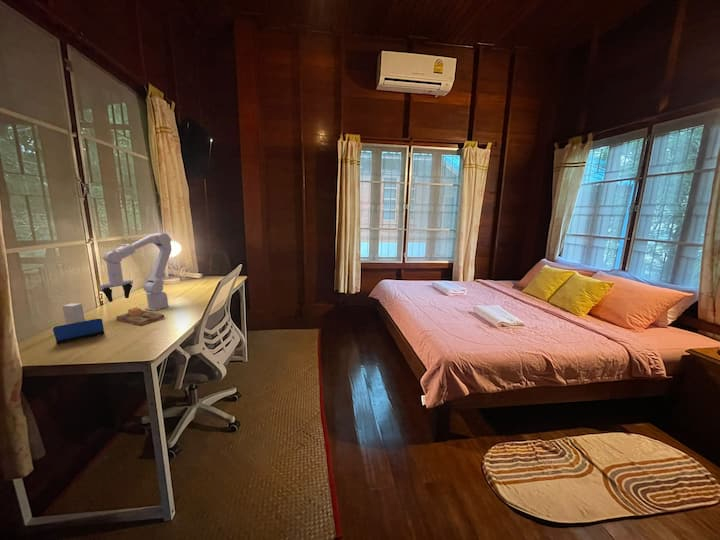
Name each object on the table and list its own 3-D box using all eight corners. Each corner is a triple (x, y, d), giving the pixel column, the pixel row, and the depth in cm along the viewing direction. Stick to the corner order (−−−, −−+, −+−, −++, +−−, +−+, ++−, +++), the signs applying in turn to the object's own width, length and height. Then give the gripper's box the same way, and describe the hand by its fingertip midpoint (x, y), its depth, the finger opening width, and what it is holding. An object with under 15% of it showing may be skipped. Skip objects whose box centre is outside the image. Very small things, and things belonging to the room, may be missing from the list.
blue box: (103, 329, 145) (100, 311, 143) (105, 337, 135) (102, 317, 134) (57, 338, 134) (53, 318, 133) (56, 348, 125) (52, 326, 123)
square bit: (137, 316, 163) (136, 307, 162) (142, 317, 161) (140, 308, 160) (129, 318, 159) (127, 309, 158) (133, 319, 158) (132, 310, 157)
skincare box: (86, 327, 147) (82, 303, 145) (77, 330, 143) (73, 306, 141) (75, 326, 148) (71, 303, 146) (66, 330, 144) (61, 305, 142)
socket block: (141, 313, 168) (141, 309, 168) (164, 318, 160) (164, 314, 159) (116, 320, 157) (116, 316, 157) (140, 325, 149) (139, 322, 148)
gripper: (126, 271, 166) (129, 295, 169) (94, 276, 153) (98, 302, 156) (133, 272, 163) (137, 297, 166) (102, 277, 150) (106, 304, 153)
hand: (119, 299), depth 160 cm, fingers open, 7 cm apart
